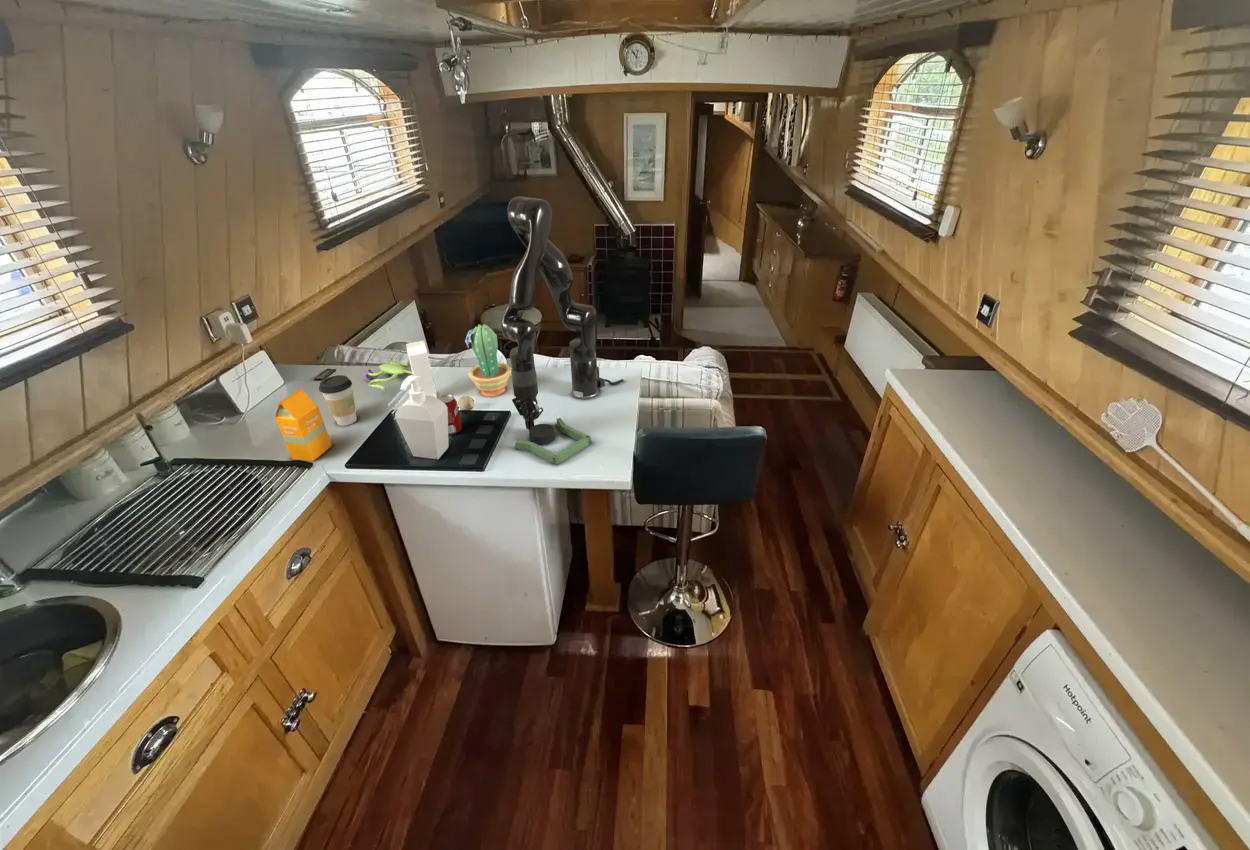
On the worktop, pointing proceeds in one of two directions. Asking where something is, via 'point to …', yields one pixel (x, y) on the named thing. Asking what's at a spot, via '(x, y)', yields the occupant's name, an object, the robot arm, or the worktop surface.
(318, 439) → the orange juice
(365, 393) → the worktop surface
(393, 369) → the figurine
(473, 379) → the potted cactus
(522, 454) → the worktop surface
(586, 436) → the frame
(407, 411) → the soap bottle
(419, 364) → the milk
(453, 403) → the soda can
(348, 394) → the coffee cup
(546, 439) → the puck
